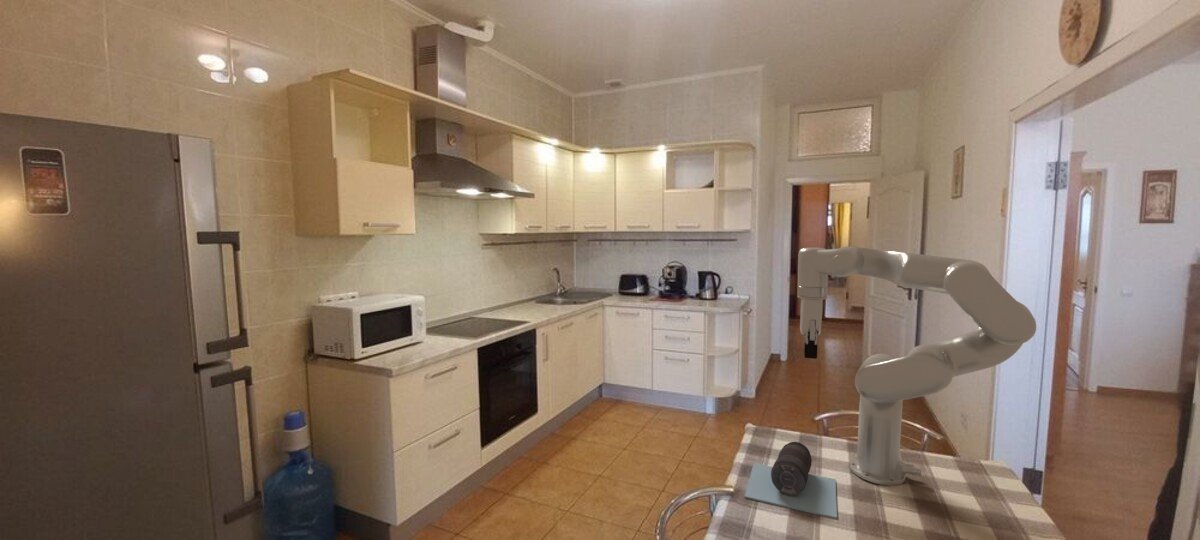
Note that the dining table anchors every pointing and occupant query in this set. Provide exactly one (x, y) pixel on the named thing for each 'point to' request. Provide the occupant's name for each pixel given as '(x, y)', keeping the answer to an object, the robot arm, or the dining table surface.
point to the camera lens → (791, 468)
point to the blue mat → (812, 499)
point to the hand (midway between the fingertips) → (810, 357)
